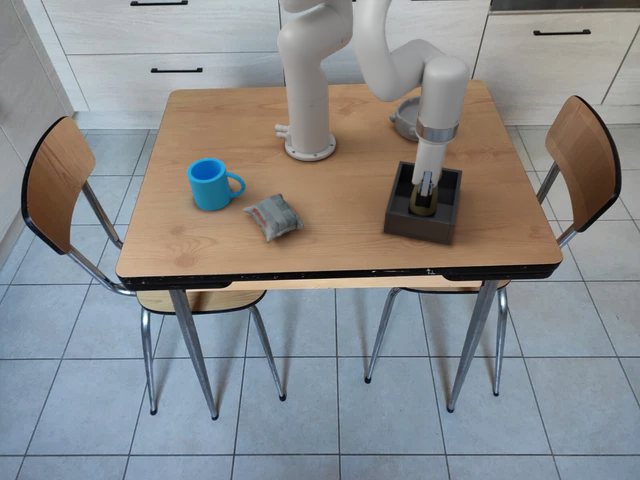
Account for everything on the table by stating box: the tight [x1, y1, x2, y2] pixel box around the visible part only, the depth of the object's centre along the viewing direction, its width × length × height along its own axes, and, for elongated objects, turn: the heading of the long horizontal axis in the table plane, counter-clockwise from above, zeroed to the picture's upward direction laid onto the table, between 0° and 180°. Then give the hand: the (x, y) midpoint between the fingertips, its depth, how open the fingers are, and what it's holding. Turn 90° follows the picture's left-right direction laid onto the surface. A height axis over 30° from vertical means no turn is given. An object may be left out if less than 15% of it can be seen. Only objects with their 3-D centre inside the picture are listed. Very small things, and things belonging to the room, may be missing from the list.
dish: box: [388, 95, 420, 142], centre depth 124 cm, size 14×14×5 cm
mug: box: [186, 157, 247, 211], centre depth 107 cm, size 12×8×8 cm
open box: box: [382, 160, 463, 246], centre depth 104 cm, size 14×17×6 cm
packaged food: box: [242, 192, 305, 244], centre depth 103 cm, size 9×12×5 cm
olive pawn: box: [409, 170, 442, 216], centre depth 100 cm, size 6×6×11 cm
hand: (424, 197), depth 103 cm, fingers closed on olive pawn, 4 cm apart
